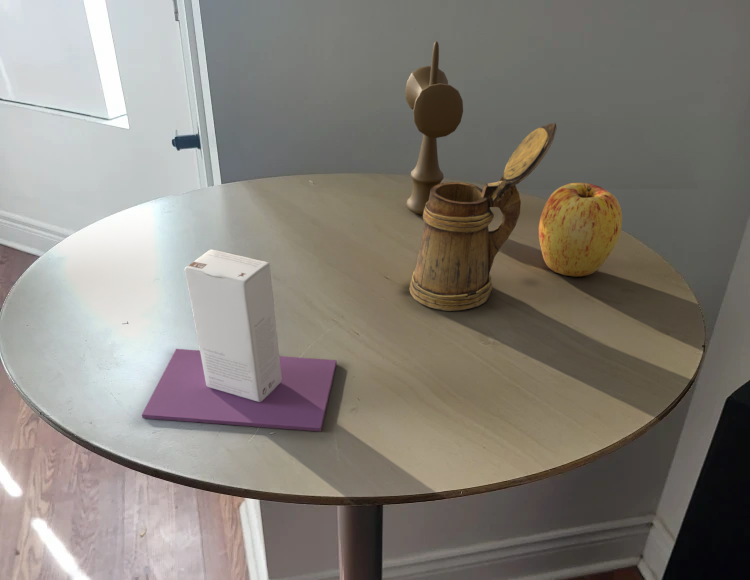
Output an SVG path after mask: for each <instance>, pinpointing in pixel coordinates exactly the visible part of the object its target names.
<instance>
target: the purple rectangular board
mask: <svg viewBox="0 0 750 580" xmlns="http://www.w3.org/2000/svg"><path fill="white" fill-rule="evenodd" d="M279 358H280V368H281V377H282V380H281V383H280V384H279V385H278V386H277V387H276V388H275V389H274V390H273V391H272V392H271V393H270V394H269V395H268V396H267V397H266V398H265V399H264V400H262V401H261V402H257V401H254V400H250V399H247V398H244V397H240V396H237V395H234V394H230V393H227V392H223V391H220V390H217V389H213V388H210V387H207V385H206V381H205V375H204V369H203V364H202V359H201V353H200V349H187V348H186V349H185V348H175V350H174V352H173V354H172V356H171V358H170V360H169V362H168V363H167V365H166V367H165V369H164V371H163V372H162V375H161V377H160V379H159V380H158V383H157V384H156V387H155V389H154V390H153V392H152V393H151V396H150V398H149V400H148V401H147V404H146V406H145V408H144V409H143V411H142V413H141V418H142V419H149V420H165V421H176V422H188V423H201V424H214V425H215V424H216V425H227V426H228V425H229V426H244V427H254V428H255V427H256V428H267V429H281V430H282V429H283V430H295V431H307V432H309V431H310V432H322V429H323V424H324V419H325V415H326V411H327V406H328V404H329V403H328V402H329V398H330V394H331V389H332V386H333V382H334V376H335V372H336V367H337V363H338V361H337V359H326V358H314V357H313V358H311V357H297V356H284V355H282V356H281V355H279Z"/></svg>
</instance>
